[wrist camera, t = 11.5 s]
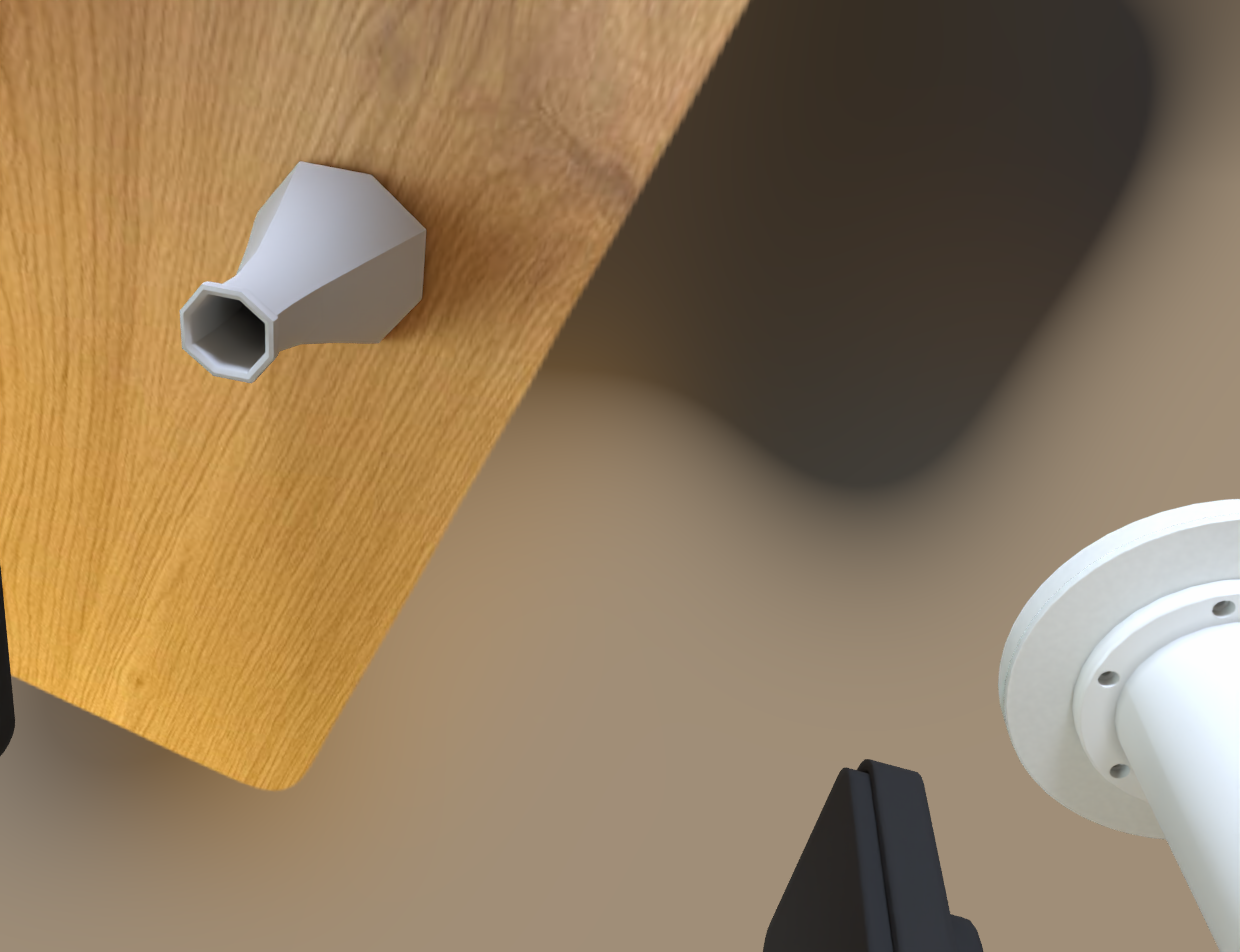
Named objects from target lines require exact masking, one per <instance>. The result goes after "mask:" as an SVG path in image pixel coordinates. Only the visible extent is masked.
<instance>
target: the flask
mask: <svg viewBox="0 0 1240 952" xmlns="http://www.w3.org/2000/svg"><path fill="white" fill-rule="evenodd" d="M425 245H426V229H425V228H424V227H423V226H422V225H421V224H420V223H419V222H418V221H417V220H416V219H415V218H414V217H413V216H412V215H411V214H410V213H409V212H408V211H407V210H406V209H405V208H404V207H403V206H402V205H401V204H400V203H399V202H398V201H397V200H396V199H395V198H394V197H393V196H392V195H391V194H390V193H389V192H388V191H387V190H386V189H385V188H384V187H383V186H382V185H381V184H380V183H379V182H378V181H377V180H376V179H375V178H374V177H373V176H372V175H370V174H365V173H360V172H354V171H349V170H344V169H339V168H333V167H328V166H323V165H318V164H312V163H307V162H302V161H299V163H298V164H297V165H296V166H295V167H294V169H293V170H292V171H291V172H290V173H289V175H288V176H287V177H286V178H285V179H284V181H283V182H282V183H281V184H280V186H279V187H278V188H277V189H276V190H275V192H274V193H273V194H272V195H271V196H270V198H269V199H268V200H267V201H266V202H265V204H264V205H263V206H262V207H261V208H260V210H259V211H258V213H257V215H256V218H255V221H254V224H253V228H252V231H251V235H250V238H249V242H248V245H247V248H246V251H245V253H244V256H243V259H242V261H241V264H240V266H239V269H238V272H237V274H236V276H234V277H233V278H231V279H230V280H228V281H226V282H225V283H223V284H220V283H215V282H204V283H203V284H202V285H201V286H200V287H199V288H198V289H197V291H196V292H195V293H194V294H193V295H192V297H191V298H190V299H189V300H188V301H187V303H186V304H185V305H184V306H183V308H182V309H181V310H180V322H181V339H182V349H184V350H185V351H186V352H187V353H188V354H189V355H190V356H192V357H193V358H194V359H195V360H196V361H197V362H198V363H199V364H201V365H202V366H203V367H204V368H205V369H206V370H207V371H209V372H210V373H211V374H212V375H213V376H217V377H222V378H227V379H232V380H237V381H242V382H247V383H253V382H254V381H255V380H256V379H257V378H258V377H259V376H260V375H261V374H262V373H263V371H264V370H265V369H266V368H267V367H268V366H269V365H270V364H271V363H272V362H273V361H274V359H275V358H276V357H277V356H278V354H279V352H280V351H283V350H285V349H288V348H291V347H294V346H297V345H300V344H318V343H366V344H369V343H379V342H380V341H381V340H382V339H383V338H384V337H385V336H386V335H387V334H388V333H389V332H390V331H391V330H392V329H393V328H394V327H395V326H396V325H397V324H398V323H399V322H400V321H401V320H402V319H403V318H404V317H405V316H406V315H407V314H408V313H409V312H410V311H411V310H412V309H413V308H414V307H415V306H416V305H417V304H418V302H419V301H420V300H421V299H422V291H423V276H424V260H425Z"/></svg>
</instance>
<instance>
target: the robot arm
mask: <svg viewBox="0 0 1240 952" xmlns="http://www.w3.org/2000/svg"><path fill="white" fill-rule="evenodd" d="M1072 711H1073V718H1074V725H1075V729H1076V732H1077V734H1078V737H1079V739H1080V742H1081V744H1082V747H1083V749H1084V751H1085V753H1086V754H1087V756H1088V758H1089V760H1090V761H1091V763H1092V765H1093V766H1094V767H1095V769H1096V770H1097V771H1098V772H1099V773H1100V774H1101V775H1102V776H1103V777H1104V778H1105V779H1106V780H1107V781H1108V782H1110V783H1111V784H1113V785H1114V786H1116V787H1117V788H1119V789H1120V790H1122V791H1123V792H1125V793H1126V794H1128V795H1131V796H1133V797H1135V798H1138V799H1140V800H1142V801H1145V802H1147V803H1149V805H1150V807H1151V809H1152V811H1153V813H1154V815H1155V817H1156V819H1157V821H1158V823H1159V825H1160V828H1161V830H1162V832H1163V834H1164V836H1165V838H1166V840H1167V842H1168V844H1169V846H1170V848H1171V850H1172V853H1173V855H1174V857H1175V859H1176V860H1177V863H1178V865H1179V867H1180V869H1181V871H1182V873H1183V875H1184V878H1185V880H1186V881H1187V884H1188V886H1189V888H1190V890H1191V892H1192V894H1193V896H1194V898H1195V900H1196V903H1197V904H1198V907H1199V909H1200V911H1201V913H1202V915H1203V917H1204V919H1205V921H1206V923H1207V925H1208V928H1209V930H1210V931H1211V933H1212V936H1213V938H1214V940H1215V942H1216V944H1217V946H1218V948H1219V950H1220V952H1240V579H1236V580H1222V581H1217V582H1212V583H1207V584H1203V585H1198V586H1193V587H1190V588H1187V589H1184V590H1181V591H1178V592H1176V593H1173V594H1170V595H1167V596H1165V597H1162V598H1160V599H1158V600H1156V601H1154V602H1152V603H1151V604H1149V605H1147V606H1145V607H1143V608H1141V609H1139V610H1137V611H1136V612H1134V613H1133V614H1132V615H1130V616H1129V617H1128V618H1126V619H1125V620H1124V621H1122V622H1121V623H1120V624H1118V625H1117V626H1116V627H1114V628H1113V629H1112V630H1111V631H1110V632H1109V633H1108V634H1107V635H1106V636H1105V637H1104V638H1103V639H1102V641H1101V642H1100V643H1099V644H1098V645H1097V646H1096V647H1095V648H1094V650H1093V651H1092V653H1091V654H1090V656H1089V657H1088V659H1087V661H1086V662H1085V664H1084V665H1083V667H1082V669H1081V672H1080V674H1079V677H1078V680H1077V682H1076V685H1075V688H1074V696H1073V705H1072ZM14 728H15V717H14V705H13V694H12V685H11V673H10V662H9V652H8V641H7V631H6V620H5V609H4V599H3V588H2V577H1V567H0V756H1V755H2V753H3V752H4V751H5V749H6V748H7V746H8V744H9V742H10V740H11V738H12V735H13V732H14ZM763 952H983V948H982V944H981V941H980V938H979V935H978V932H977V930H976V928H975V927H974V925H973V924H972V923H971V921H970V920H968V919H965V918H962V917H959V916H954V915H951V914H950V911H949V906H948V901H947V897H946V891H945V886H944V881H943V876H942V871H941V867H940V861H939V856H938V852H937V847H936V842H935V837H934V832H933V827H932V822H931V817H930V812H929V807H928V803H927V797H926V793H925V788H924V783H923V780H922V777H921V776H920V775H919V774H918V772H914V771H911V770H907V769H903V768H899V767H896V766H892V765H888V764H884V763H881V762H877V761H873V760H869V759H865V760H864V761H863V762H862V763H861V764H860V766H859V767H858V769H857V770H853V769H849V768H843V769H842V770H841V771H840V773H839V775H838V777H837V779H836V781H835V783H834V785H833V788H832V790H831V792H830V794H829V796H828V799H827V801H826V803H825V805H824V807H823V809H822V811H821V814H820V816H819V818H818V820H817V822H816V825H815V827H814V829H813V831H812V833H811V835H810V838H809V840H808V842H807V844H806V847H805V849H804V851H803V853H802V855H801V857H800V859H799V862H798V864H797V866H796V868H795V870H794V872H793V875H792V877H791V879H790V881H789V883H788V885H787V888H786V890H785V892H784V894H783V896H782V899H781V901H780V903H779V905H778V907H777V909H776V912H775V914H774V916H773V918H772V920H771V923H770V925H769V927H768V930H767V934H766V938H765V943H764V949H763Z"/></svg>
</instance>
